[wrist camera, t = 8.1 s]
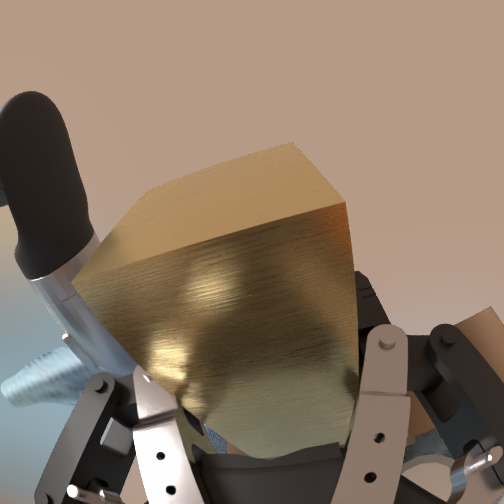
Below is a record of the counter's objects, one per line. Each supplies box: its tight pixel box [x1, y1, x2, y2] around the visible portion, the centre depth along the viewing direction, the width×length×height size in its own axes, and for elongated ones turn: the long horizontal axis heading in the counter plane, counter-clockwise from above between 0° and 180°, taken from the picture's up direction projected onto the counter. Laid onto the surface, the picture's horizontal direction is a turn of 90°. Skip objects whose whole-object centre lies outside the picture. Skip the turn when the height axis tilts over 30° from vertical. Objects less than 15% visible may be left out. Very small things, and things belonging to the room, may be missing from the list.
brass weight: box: [71, 142, 359, 458], centre depth 9 cm, size 5×5×12 cm
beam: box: [226, 306, 504, 460], centre depth 13 cm, size 20×7×2 cm, turn 91°
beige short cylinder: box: [401, 454, 455, 502], centre depth 10 cm, size 7×7×7 cm
